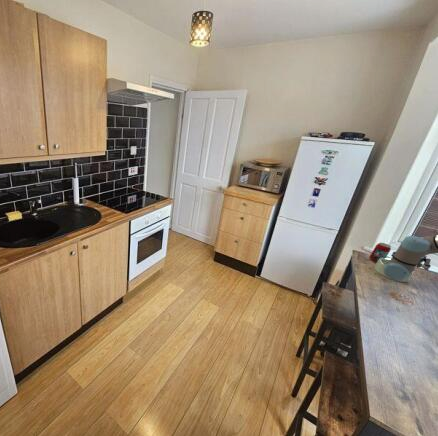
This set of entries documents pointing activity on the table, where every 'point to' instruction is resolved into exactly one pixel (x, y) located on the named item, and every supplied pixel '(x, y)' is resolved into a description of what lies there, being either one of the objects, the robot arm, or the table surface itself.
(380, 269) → the bowl
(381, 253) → the beverage can
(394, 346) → the table surface
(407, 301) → the coaster
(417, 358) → the table surface
